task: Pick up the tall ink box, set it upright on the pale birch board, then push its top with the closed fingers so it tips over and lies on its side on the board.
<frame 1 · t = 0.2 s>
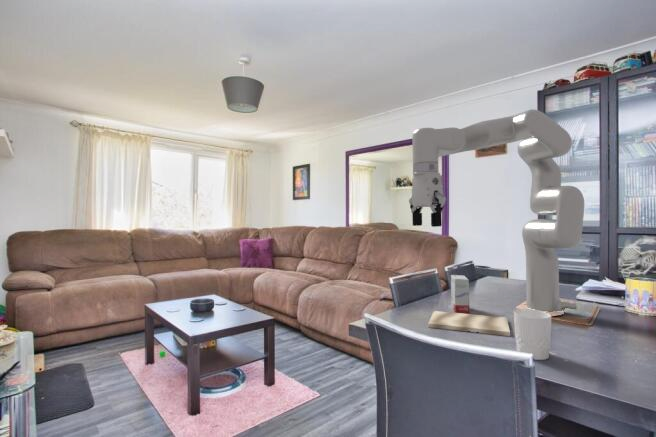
hand: (426, 226, 105), 31 cm above the table, tool pointing down, fingers open, 9 cm apart
ink box: (460, 310, 122), on the table
white cup: (532, 355, 83), on the table
birch board: (468, 324, 106), on the table
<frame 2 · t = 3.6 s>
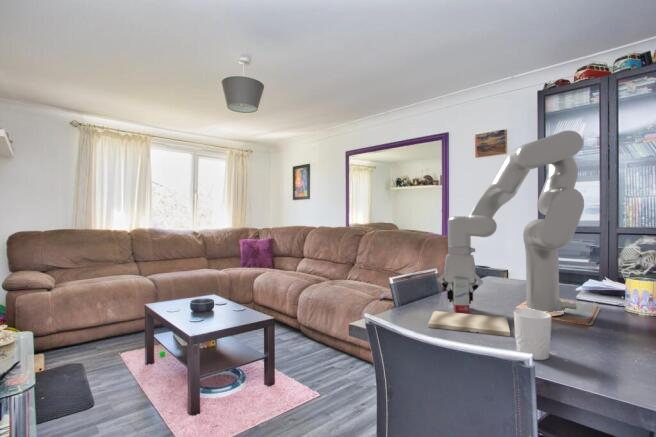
hand: (460, 301, 122), 3 cm above the table, tool pointing down, fingers closed on ink box, 5 cm apart
ink box: (460, 310, 122), on the table, touching gripper
everything else where it was.
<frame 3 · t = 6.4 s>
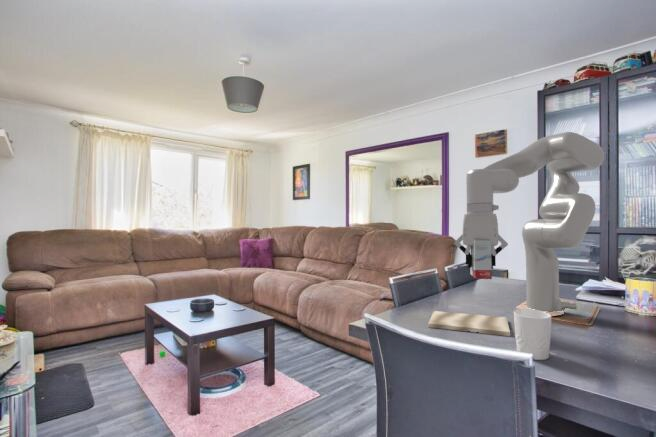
hand: (480, 267, 107), 18 cm above the table, tool pointing down, fingers closed on ink box, 5 cm apart
ink box: (480, 277, 107), point 14 cm above the table, touching gripper
everything else where it was.
when the fingers open (5 cm above the table, at t = 9.4 s): ink box stays where it is, resting on birch board.
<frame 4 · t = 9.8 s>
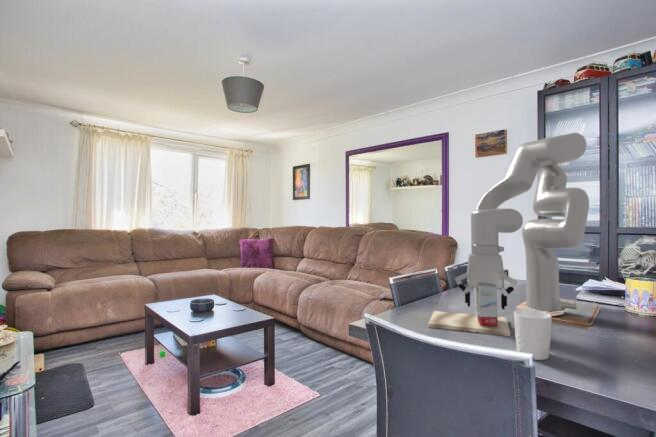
hand: (485, 306, 104), 6 cm above the table, tool pointing down, fingers open, 9 cm apart
ink box: (486, 322, 104), point 1 cm above the table, touching birch board
everything else where it was.
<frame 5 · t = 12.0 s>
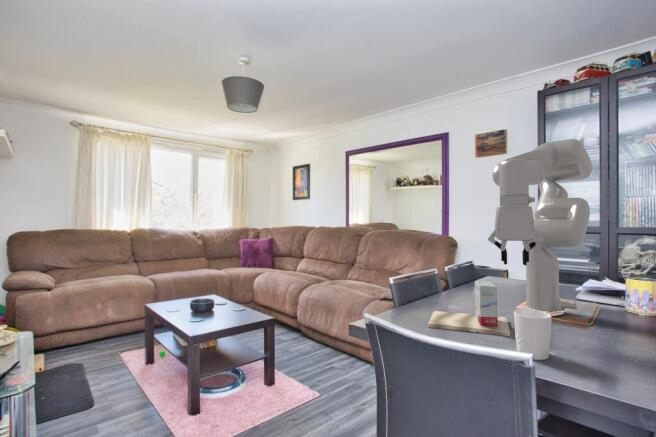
hand: (514, 263, 101), 19 cm above the table, tool pointing down, fingers open, 4 cm apart
nothing on the table moved.
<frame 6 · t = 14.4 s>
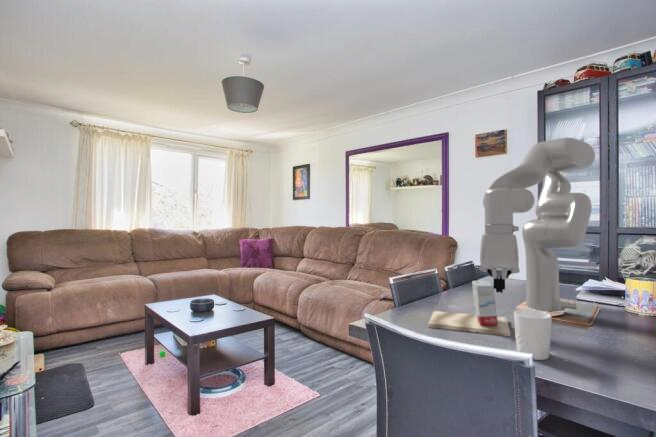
hand: (499, 291, 102), 11 cm above the table, tool pointing down, fingers closed
nothing on the table moved.
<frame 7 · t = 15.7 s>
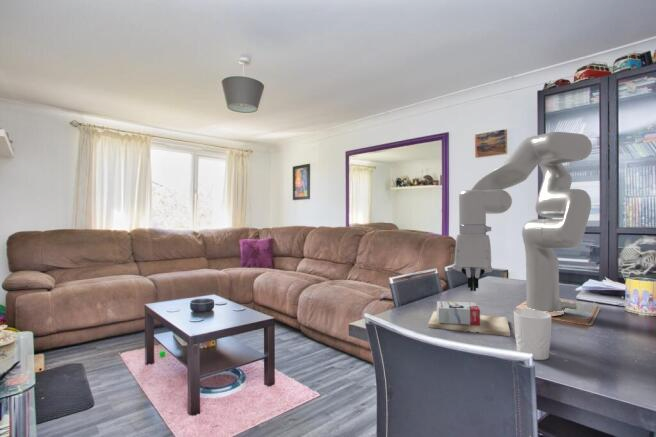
hand: (473, 290, 105), 11 cm above the table, tool pointing down, fingers closed
ink box: (478, 313, 105), point 4 cm above the table, touching birch board
everything else where it was.
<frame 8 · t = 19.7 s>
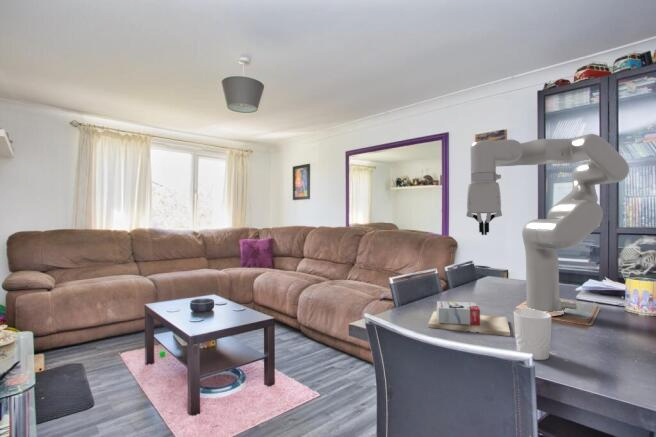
hand: (484, 234, 114), 27 cm above the table, tool pointing down, fingers closed
nothing on the table moved.
at the end: ink box tilted 90°; ink box inside the target area on the birch board (2.4 cm from its centre), point 3.6 cm above the birch board's base; ink box touching birch board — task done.
